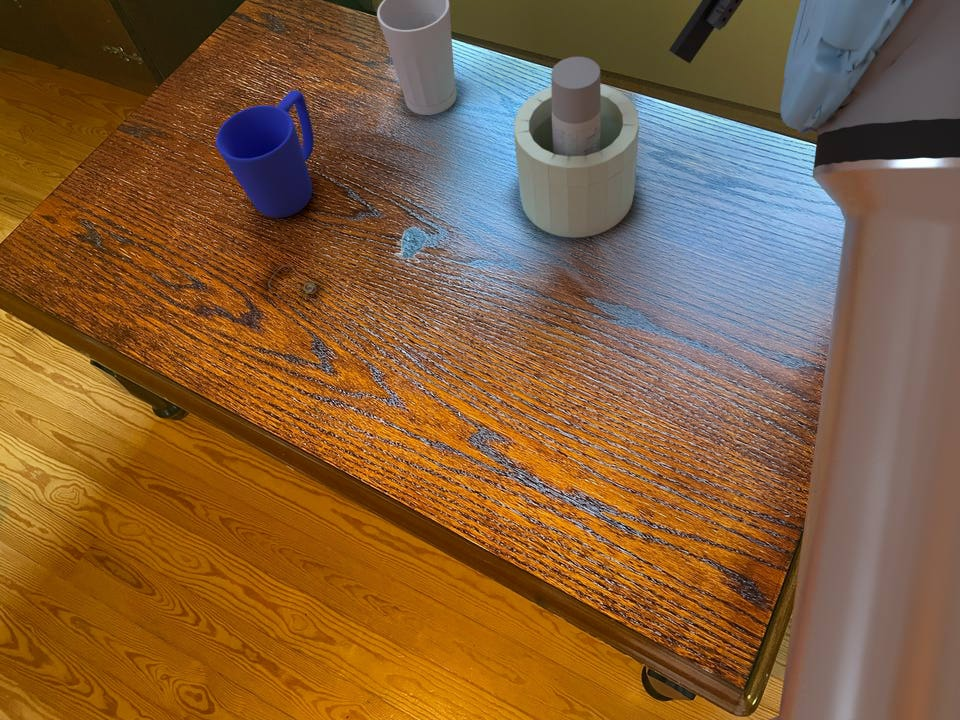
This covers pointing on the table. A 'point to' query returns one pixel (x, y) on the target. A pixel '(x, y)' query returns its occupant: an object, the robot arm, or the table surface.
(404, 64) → the cup
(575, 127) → the container
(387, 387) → the table surface
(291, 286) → the necklace
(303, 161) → the mug
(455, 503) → the table surface
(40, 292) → the table surface
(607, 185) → the round pot
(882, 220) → the robot arm
